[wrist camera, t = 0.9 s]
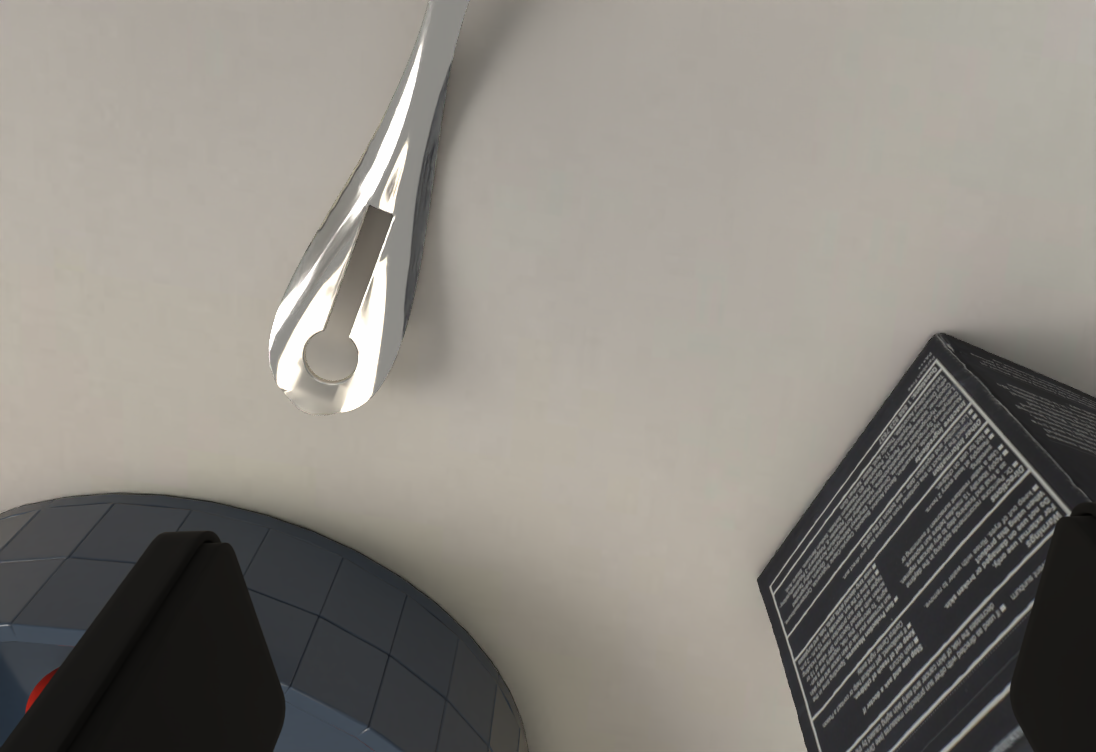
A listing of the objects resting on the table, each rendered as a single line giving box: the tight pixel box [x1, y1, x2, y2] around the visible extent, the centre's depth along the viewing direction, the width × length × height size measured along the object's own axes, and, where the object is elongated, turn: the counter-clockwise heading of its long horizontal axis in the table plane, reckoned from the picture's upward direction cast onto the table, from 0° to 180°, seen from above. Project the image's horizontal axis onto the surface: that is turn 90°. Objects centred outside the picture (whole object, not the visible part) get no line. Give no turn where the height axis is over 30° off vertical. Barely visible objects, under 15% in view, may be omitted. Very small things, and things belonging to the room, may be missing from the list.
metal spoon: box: [269, 0, 470, 416], centre depth 18 cm, size 20×4×5 cm
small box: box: [757, 333, 1096, 752], centre depth 21 cm, size 11×6×10 cm, turn 158°
